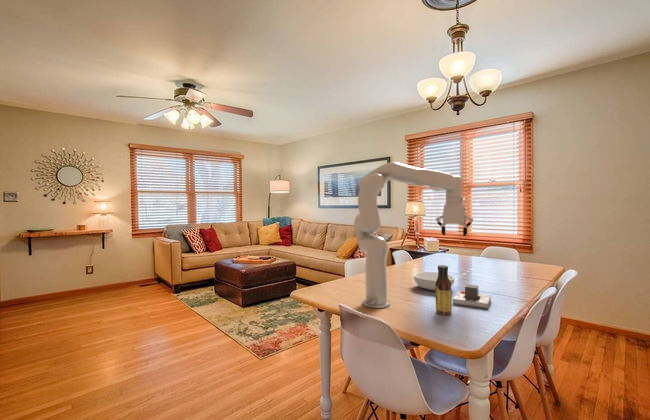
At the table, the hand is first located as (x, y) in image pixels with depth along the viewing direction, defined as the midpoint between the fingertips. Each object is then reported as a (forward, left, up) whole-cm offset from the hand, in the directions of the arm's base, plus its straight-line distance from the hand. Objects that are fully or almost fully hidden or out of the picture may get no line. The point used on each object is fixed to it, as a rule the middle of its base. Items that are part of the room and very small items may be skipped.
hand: (454, 235), depth 152 cm
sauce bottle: (-29, -1, -30) cm, 42 cm away
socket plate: (-8, -9, -30) cm, 32 cm away
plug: (-8, -9, -30) cm, 32 cm away
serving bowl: (+8, +12, -30) cm, 34 cm away
